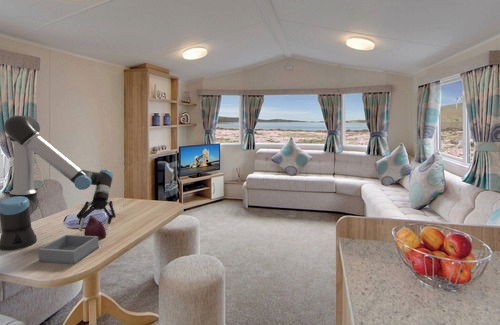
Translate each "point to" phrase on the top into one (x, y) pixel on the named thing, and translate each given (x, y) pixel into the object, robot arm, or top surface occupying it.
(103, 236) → the vegetable
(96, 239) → the slate bin
